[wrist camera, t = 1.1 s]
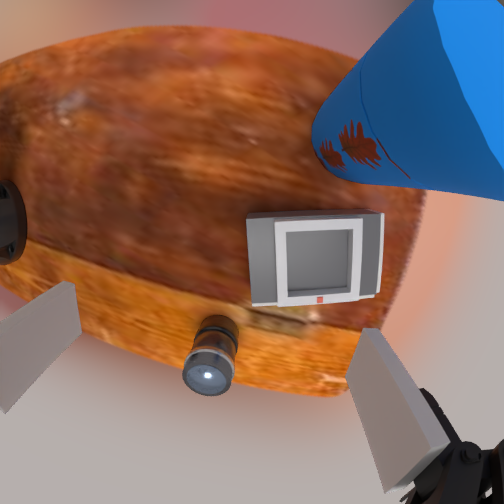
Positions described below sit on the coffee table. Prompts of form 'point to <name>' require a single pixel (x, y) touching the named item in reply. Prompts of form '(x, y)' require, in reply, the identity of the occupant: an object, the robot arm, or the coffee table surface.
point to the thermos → (423, 104)
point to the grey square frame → (314, 256)
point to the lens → (212, 357)
